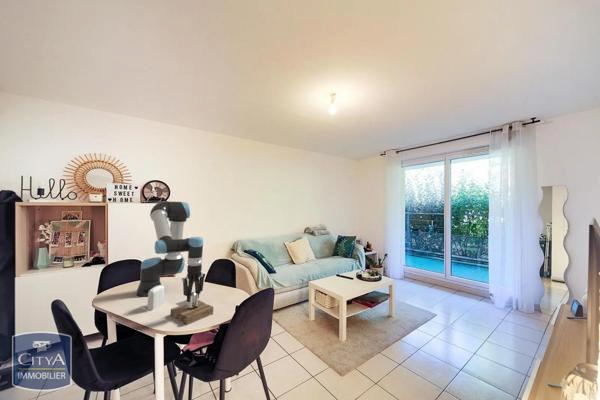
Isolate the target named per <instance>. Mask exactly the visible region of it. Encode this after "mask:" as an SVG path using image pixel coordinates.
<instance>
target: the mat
mask: <svg viewBox="0 0 600 400" xmlns="http://www.w3.org/2000/svg"><path fill="white" fill-rule="evenodd" d="M198 301H200V302H203V303H205V302H204V301H201V300H199V299H198ZM187 303H188V302H187V299H185V300H182V301H179V302H177V303H175V305H177V306H181V305H184V304H187Z"/></svg>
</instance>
